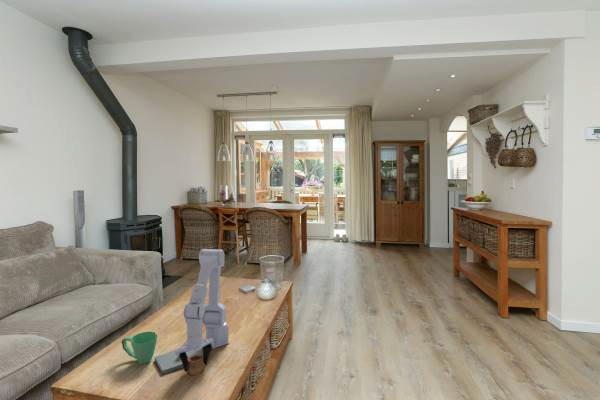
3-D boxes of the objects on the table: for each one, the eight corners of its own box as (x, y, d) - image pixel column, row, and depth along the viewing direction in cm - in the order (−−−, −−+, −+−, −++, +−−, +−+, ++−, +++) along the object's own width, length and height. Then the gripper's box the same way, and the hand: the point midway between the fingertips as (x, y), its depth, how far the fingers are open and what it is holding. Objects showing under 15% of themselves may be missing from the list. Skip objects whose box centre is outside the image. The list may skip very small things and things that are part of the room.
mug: (162, 355, 137) (162, 332, 137) (149, 368, 128) (148, 344, 127) (130, 352, 139) (130, 330, 139) (115, 365, 130) (114, 341, 129)
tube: (199, 364, 130) (199, 352, 130) (205, 371, 126) (204, 359, 126) (186, 369, 127) (185, 357, 127) (190, 376, 123) (190, 363, 122)
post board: (197, 346, 144) (197, 335, 144) (207, 358, 135) (207, 347, 134) (154, 360, 133) (154, 348, 133) (162, 374, 124) (162, 362, 123)
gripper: (178, 343, 118) (179, 378, 119) (216, 332, 127) (217, 365, 128) (173, 335, 123) (174, 369, 124) (209, 325, 132) (210, 357, 133)
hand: (195, 367), depth 126 cm, fingers open, 7 cm apart
